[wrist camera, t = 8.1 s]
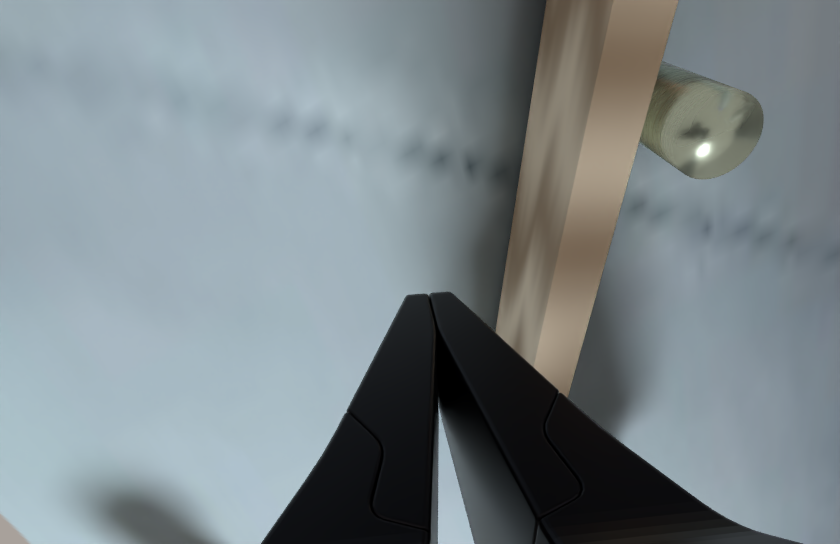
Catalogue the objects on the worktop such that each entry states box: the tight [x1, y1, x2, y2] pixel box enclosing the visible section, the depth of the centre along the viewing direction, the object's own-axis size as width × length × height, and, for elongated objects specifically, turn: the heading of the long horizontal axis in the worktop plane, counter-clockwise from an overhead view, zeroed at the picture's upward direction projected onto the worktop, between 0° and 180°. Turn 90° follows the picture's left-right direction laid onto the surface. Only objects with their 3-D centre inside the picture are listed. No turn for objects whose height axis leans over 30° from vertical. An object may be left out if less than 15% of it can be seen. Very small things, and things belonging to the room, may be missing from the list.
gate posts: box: [639, 61, 763, 179], centre depth 19 cm, size 2×16×7 cm, turn 167°
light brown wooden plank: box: [495, 0, 678, 398], centre depth 17 cm, size 17×2×5 cm, turn 178°
